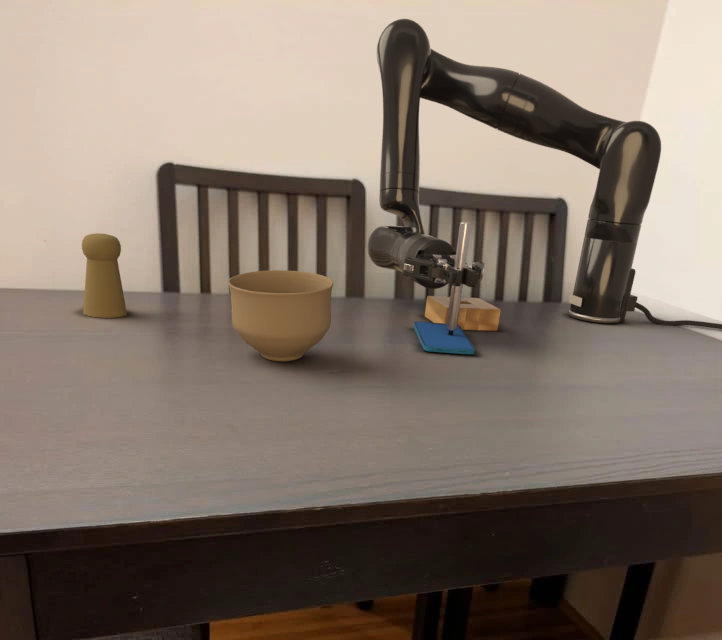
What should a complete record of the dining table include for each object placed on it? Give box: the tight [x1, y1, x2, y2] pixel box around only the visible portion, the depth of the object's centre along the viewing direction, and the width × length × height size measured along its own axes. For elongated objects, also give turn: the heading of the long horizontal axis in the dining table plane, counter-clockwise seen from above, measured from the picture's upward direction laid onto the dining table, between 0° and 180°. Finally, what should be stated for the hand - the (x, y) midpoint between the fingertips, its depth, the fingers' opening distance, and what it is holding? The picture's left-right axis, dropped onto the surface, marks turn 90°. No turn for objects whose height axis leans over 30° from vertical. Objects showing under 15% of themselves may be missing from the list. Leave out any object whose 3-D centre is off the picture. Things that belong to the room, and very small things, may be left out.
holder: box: [424, 295, 502, 332], centre depth 121 cm, size 9×9×4 cm
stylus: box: [446, 221, 472, 336], centre depth 105 cm, size 2×2×16 cm
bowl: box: [227, 269, 334, 363], centre depth 89 cm, size 13×13×10 cm
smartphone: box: [413, 321, 476, 355], centre depth 108 cm, size 7×1×15 cm
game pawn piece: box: [81, 232, 128, 319], centre depth 104 cm, size 6×6×11 cm
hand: (466, 279), depth 102 cm, fingers closed on stylus, 1 cm apart
